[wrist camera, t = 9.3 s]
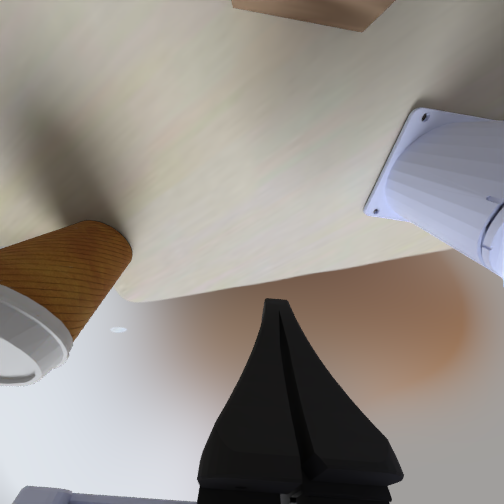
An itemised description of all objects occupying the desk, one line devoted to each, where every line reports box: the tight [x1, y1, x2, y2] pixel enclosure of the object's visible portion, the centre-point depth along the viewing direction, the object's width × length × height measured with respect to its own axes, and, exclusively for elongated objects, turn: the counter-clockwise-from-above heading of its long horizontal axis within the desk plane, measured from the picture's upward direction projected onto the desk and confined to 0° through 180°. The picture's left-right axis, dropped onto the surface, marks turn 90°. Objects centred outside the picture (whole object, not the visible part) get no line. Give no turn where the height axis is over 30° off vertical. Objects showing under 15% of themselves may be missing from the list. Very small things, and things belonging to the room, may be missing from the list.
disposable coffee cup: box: [0, 220, 132, 386], centre depth 16 cm, size 10×10×12 cm
